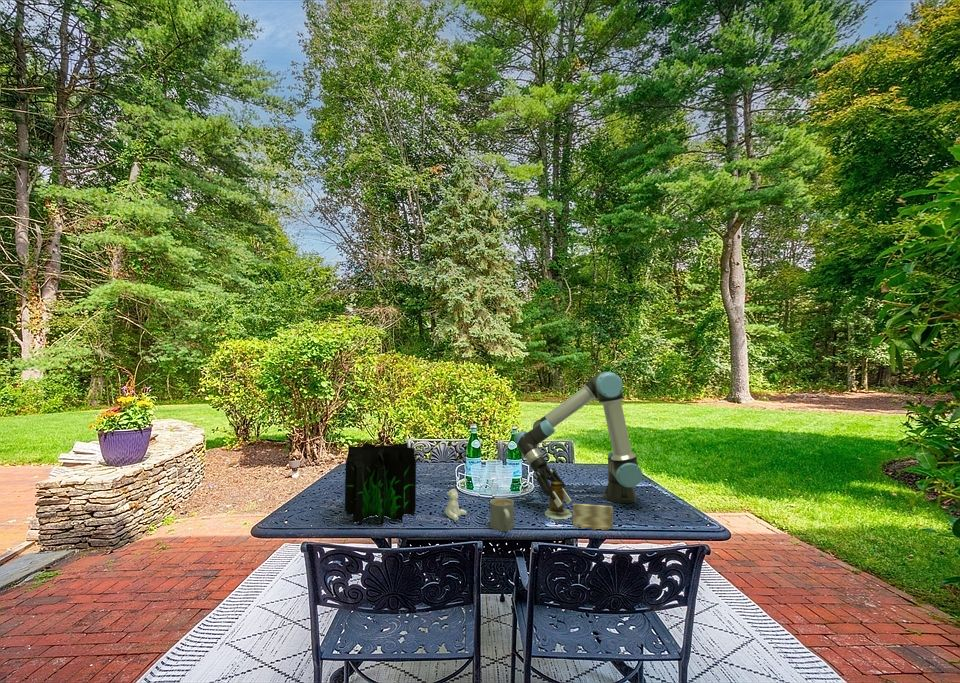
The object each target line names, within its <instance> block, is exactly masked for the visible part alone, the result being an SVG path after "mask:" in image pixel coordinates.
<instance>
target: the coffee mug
mask: <svg viewBox="0 0 960 683" xmlns="http://www.w3.org/2000/svg"><path fill="white" fill-rule="evenodd" d="M514 502H515V501H514V500H513V499H510V498H504V497H503V498H502V497H498V498H497V497H496V498H493V499H491V500H490V501H489V508H490V509H489V526H490V528H491V529H493V530H495V531H502V532H503V531H505V532H506V531H509V530H512V529H514V527H515V523H514V522H515V507H514V506H515V503H514Z"/></svg>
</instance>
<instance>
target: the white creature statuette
mask: <svg viewBox="0 0 960 683" xmlns="http://www.w3.org/2000/svg"><path fill="white" fill-rule="evenodd" d="M446 495H448V498H449V499H448V502H447V506H446V507H445V509H444V511H445V512H444V513H445V516H446V517H447V516H448V517H447V518H449V519H451V520H452V519H453V521H454V520H455V521H454V522H457V521H458V520H459V518H460V517H461V516H460V515H466V516H467V510H465V509H463V508H462V509H460V507H459V501H458V497H459V493H458V491H457V489H456V488H452V489H450V490H449V491H447V492H446ZM458 516H460V517H458ZM456 520H457V521H456Z"/></svg>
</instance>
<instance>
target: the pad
mask: <svg viewBox="0 0 960 683" xmlns="http://www.w3.org/2000/svg"><path fill="white" fill-rule="evenodd" d="M544 516H545V517H547V518H549V519H552V520H557V519H564V520H568V518H569V519H571V518H573V513H572V512H571V511H568V512H566V513H563V514H560V513H556V512H552V511H549V510H545V511H544ZM570 517H571V518H570Z"/></svg>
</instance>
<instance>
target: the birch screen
mask: <svg viewBox="0 0 960 683" xmlns="http://www.w3.org/2000/svg"><path fill="white" fill-rule="evenodd" d="M613 511H614V508H613V506H612V505H599V504H587V503H584V504H583V503H572V527H573V526H578V527H581V528H580V529H584V528H592V529H591V530H596V529H601V530H600V531H609V529H613V530H614V519H613V518H614V512H613ZM578 527H577V528H578Z"/></svg>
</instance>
